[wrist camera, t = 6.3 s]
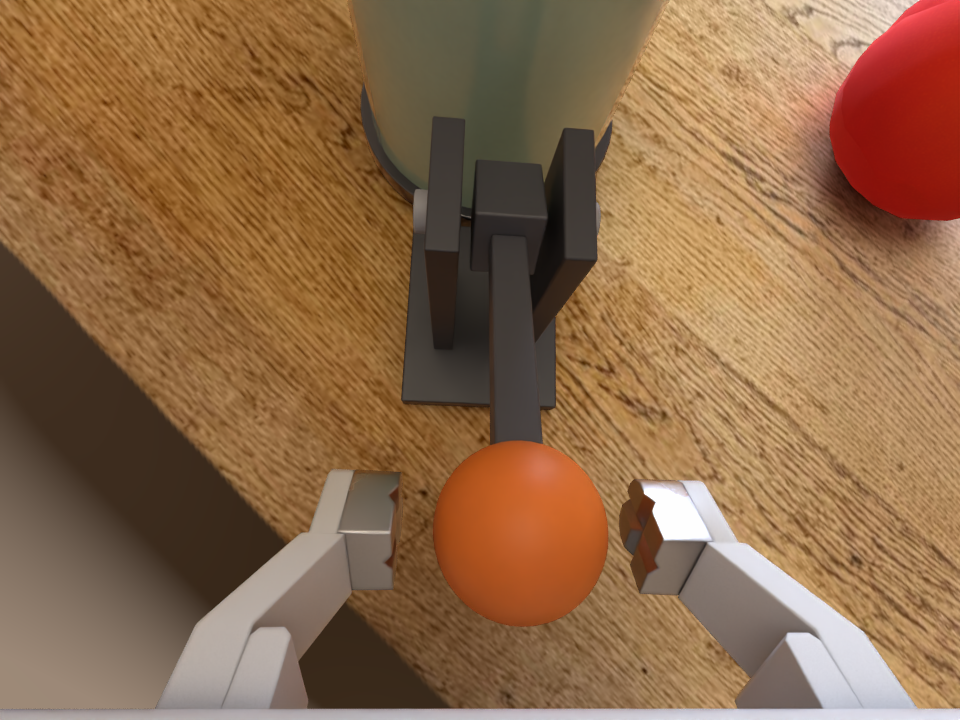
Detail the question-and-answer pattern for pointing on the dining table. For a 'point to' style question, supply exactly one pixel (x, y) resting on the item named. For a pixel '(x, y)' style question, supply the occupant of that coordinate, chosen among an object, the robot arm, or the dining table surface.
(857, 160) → the tomato
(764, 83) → the dining table surface
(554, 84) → the green canister
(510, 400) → the switch
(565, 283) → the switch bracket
